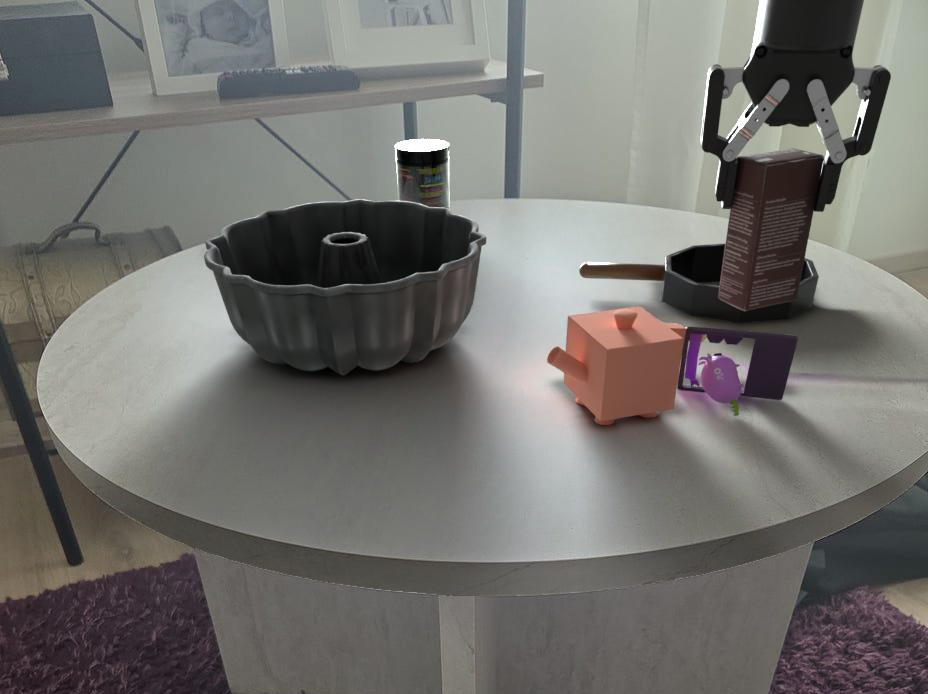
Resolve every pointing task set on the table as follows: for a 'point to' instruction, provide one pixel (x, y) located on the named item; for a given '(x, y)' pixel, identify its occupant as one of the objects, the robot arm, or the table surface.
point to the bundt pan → (347, 281)
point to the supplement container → (423, 172)
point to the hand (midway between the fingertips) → (771, 207)
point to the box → (769, 227)
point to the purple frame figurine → (721, 371)
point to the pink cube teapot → (621, 362)
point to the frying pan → (703, 299)
